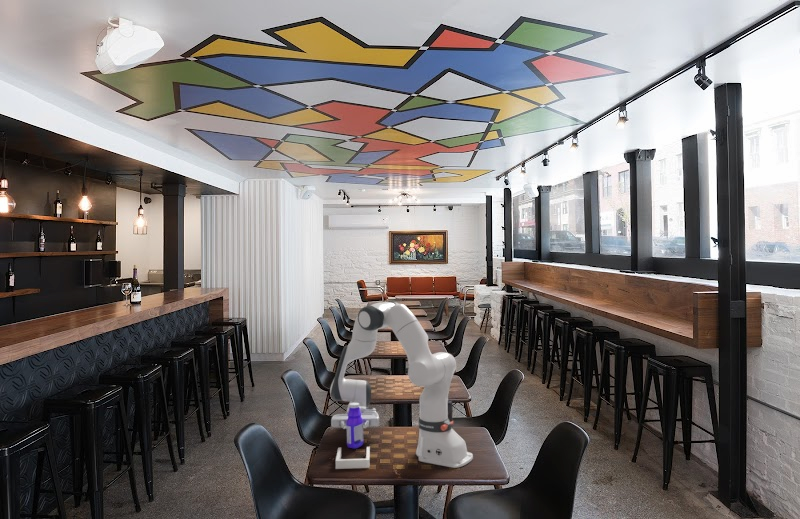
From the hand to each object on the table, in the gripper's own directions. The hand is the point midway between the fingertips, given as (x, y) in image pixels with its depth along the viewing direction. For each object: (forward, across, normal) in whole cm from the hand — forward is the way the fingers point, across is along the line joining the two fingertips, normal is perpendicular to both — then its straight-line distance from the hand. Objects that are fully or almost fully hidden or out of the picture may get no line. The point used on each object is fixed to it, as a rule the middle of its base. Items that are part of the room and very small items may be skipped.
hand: (354, 427), depth 196 cm
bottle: (-1, 0, +8) cm, 8 cm away
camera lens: (-12, +38, +9) cm, 41 cm away
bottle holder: (+13, 0, +8) cm, 16 cm away
